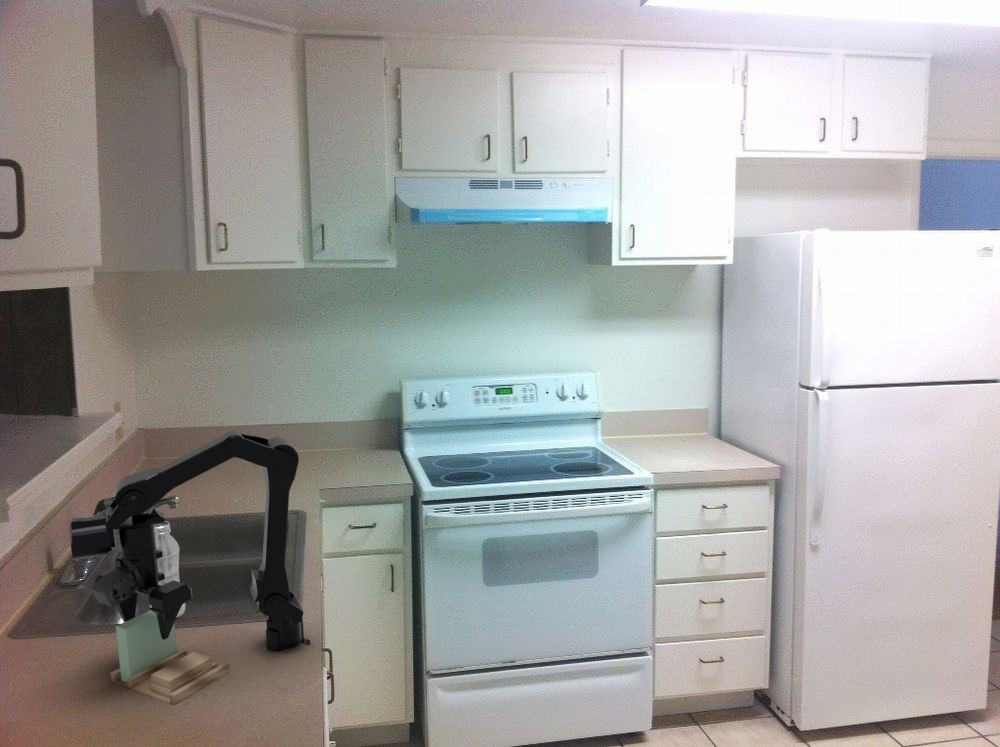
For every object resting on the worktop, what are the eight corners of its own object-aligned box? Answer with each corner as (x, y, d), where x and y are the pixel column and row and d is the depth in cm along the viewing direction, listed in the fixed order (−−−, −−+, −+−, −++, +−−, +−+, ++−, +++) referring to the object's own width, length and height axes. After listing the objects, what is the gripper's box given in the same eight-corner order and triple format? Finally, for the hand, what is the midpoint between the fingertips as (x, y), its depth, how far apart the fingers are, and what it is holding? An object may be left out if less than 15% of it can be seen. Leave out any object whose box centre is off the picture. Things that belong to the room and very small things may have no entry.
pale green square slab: (168, 655, 165) (163, 604, 163) (177, 658, 163) (173, 606, 162) (121, 680, 156) (115, 626, 154) (130, 683, 155) (125, 629, 153)
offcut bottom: (197, 665, 161) (196, 657, 161) (217, 671, 158) (216, 663, 158) (150, 691, 152) (150, 682, 152) (171, 698, 150) (170, 690, 150)
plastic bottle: (185, 623, 180) (176, 527, 176) (149, 627, 178) (139, 531, 175) (187, 609, 186) (179, 517, 183) (153, 614, 184) (143, 520, 181)
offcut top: (193, 659, 160) (193, 651, 159) (212, 665, 157) (211, 657, 157) (151, 682, 152) (150, 674, 152) (170, 689, 150) (169, 681, 150)
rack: (168, 656, 166) (167, 643, 166) (230, 676, 158) (229, 663, 158) (111, 686, 156) (110, 673, 156) (174, 709, 148) (173, 695, 148)
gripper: (62, 555, 154) (72, 641, 156) (134, 575, 144) (144, 665, 147) (118, 534, 163) (127, 615, 166) (190, 551, 154) (198, 637, 157)
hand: (147, 633), depth 159 cm, fingers open, 9 cm apart
